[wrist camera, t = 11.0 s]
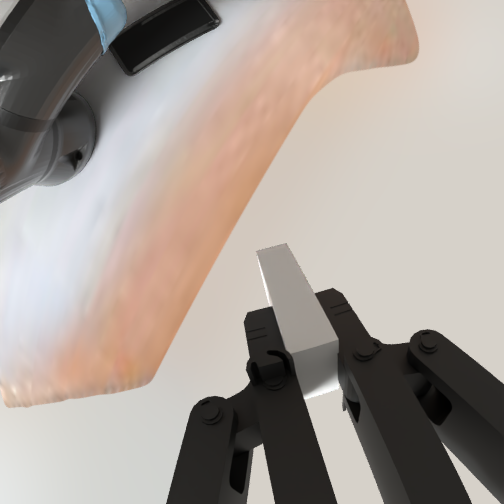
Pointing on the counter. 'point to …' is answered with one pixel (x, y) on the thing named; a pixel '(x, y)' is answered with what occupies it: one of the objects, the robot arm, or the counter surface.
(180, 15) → the phone
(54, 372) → the counter surface
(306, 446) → the robot arm
